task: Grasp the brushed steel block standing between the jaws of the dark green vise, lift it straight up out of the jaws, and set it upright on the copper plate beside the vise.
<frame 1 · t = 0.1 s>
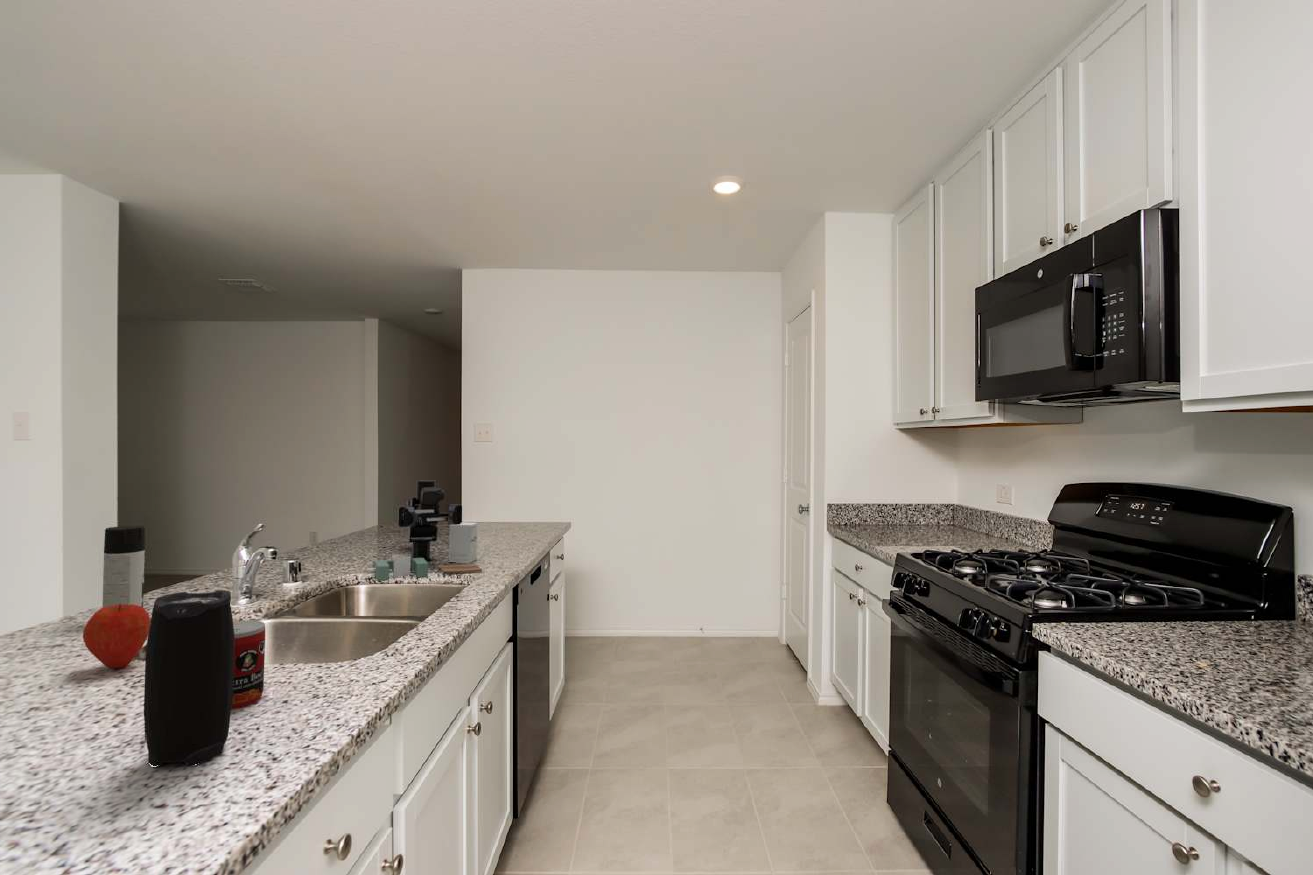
hand: (435, 518, 188), 17 cm above the countertop, tool horizontal, fingers open, 9 cm apart
apple: (116, 669, 106), on the countertop
supplement box: (462, 562, 208), on the countertop
steel block: (401, 565, 184), in the vise
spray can: (122, 622, 133), on the countertop
vise: (400, 575, 184), on the countertop
portable speaker: (188, 756, 77), on the countertop
canned food: (233, 701, 94), on the countertop
copper plate: (459, 570, 193), on the countertop
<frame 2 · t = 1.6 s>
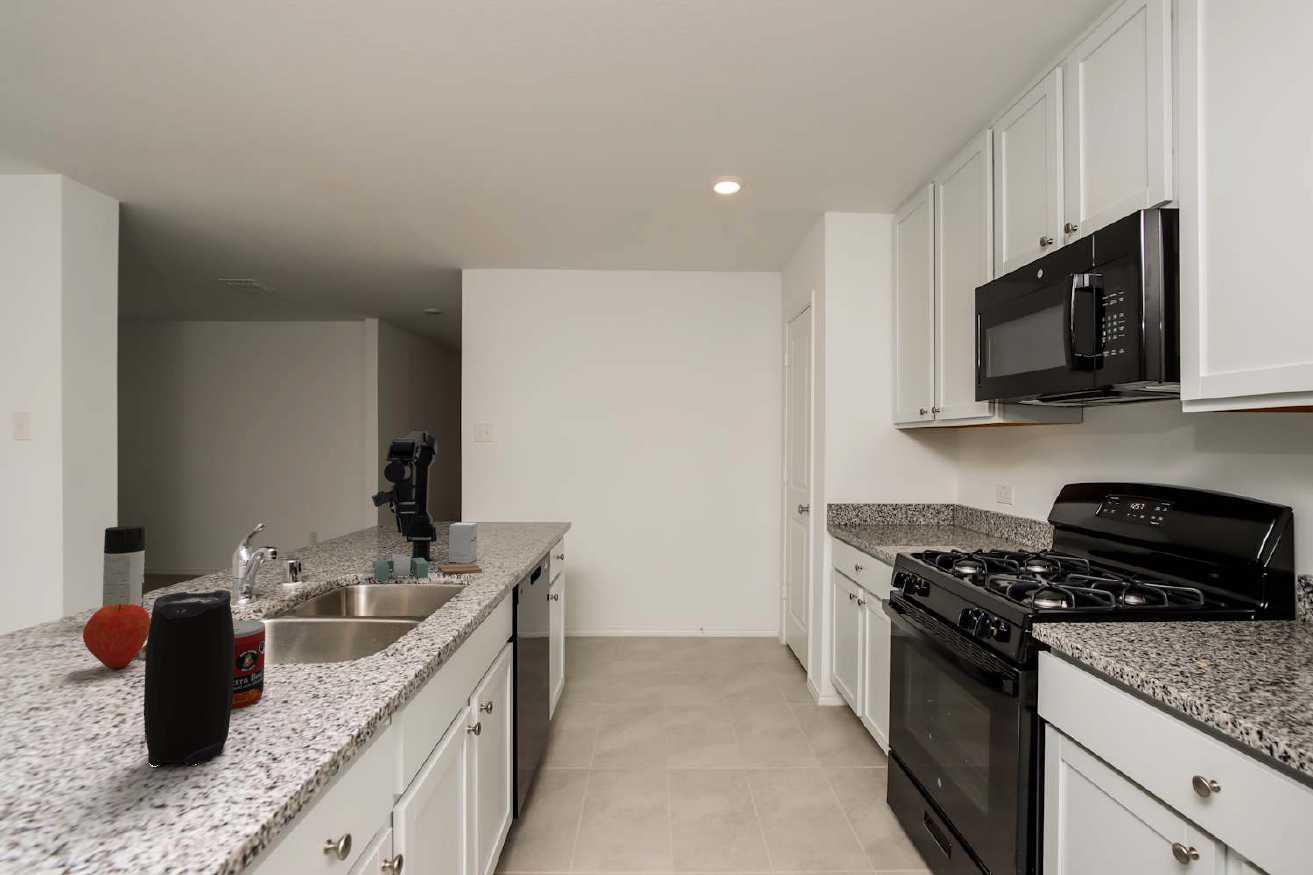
hand: (402, 534, 184), 12 cm above the countertop, tool pointing down, fingers open, 9 cm apart
nothing on the countertop moved.
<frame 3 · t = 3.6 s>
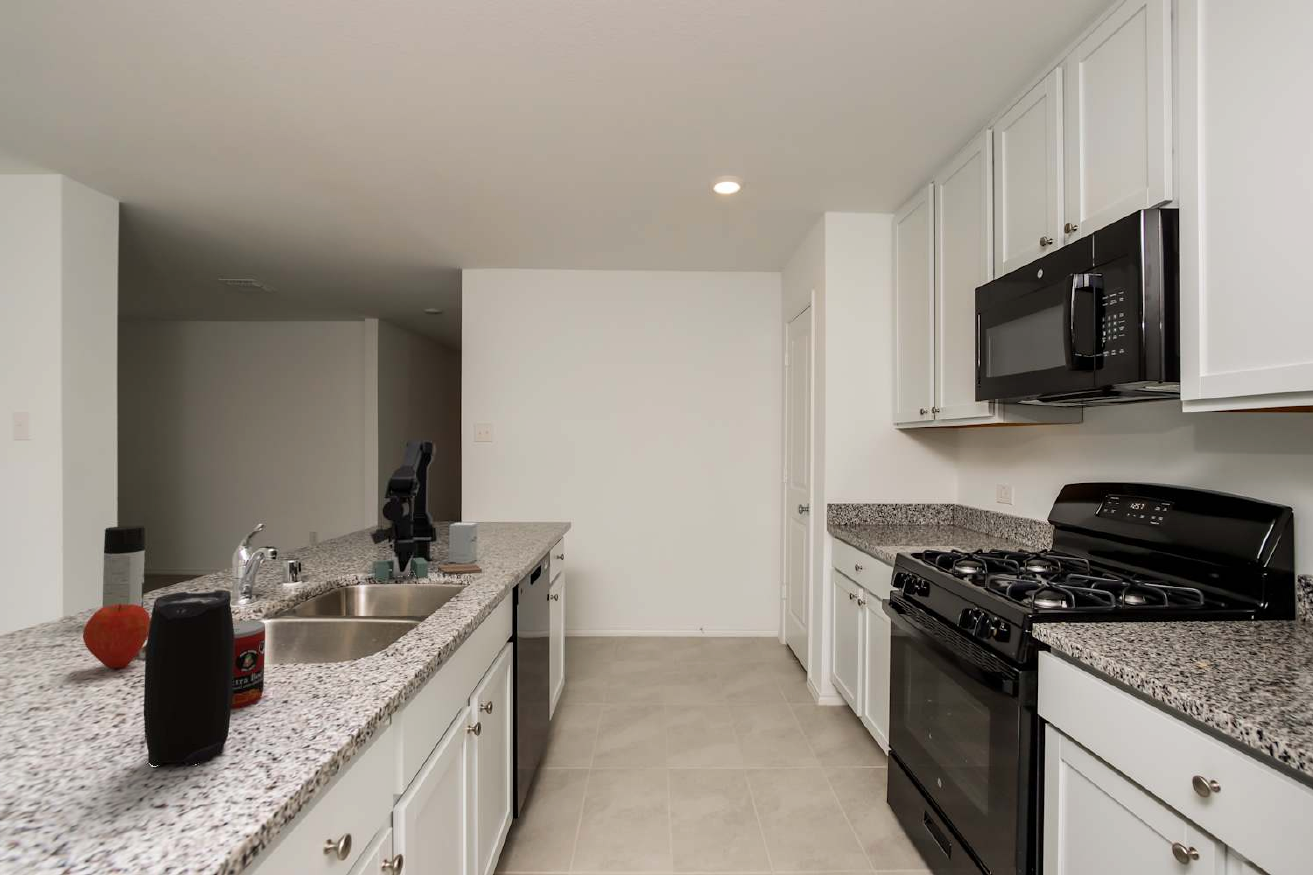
hand: (401, 570, 184), 2 cm above the countertop, tool pointing down, fingers closed on steel block, 4 cm apart
steel block: (401, 565, 184), in the vise, touching gripper
everything else where it was.
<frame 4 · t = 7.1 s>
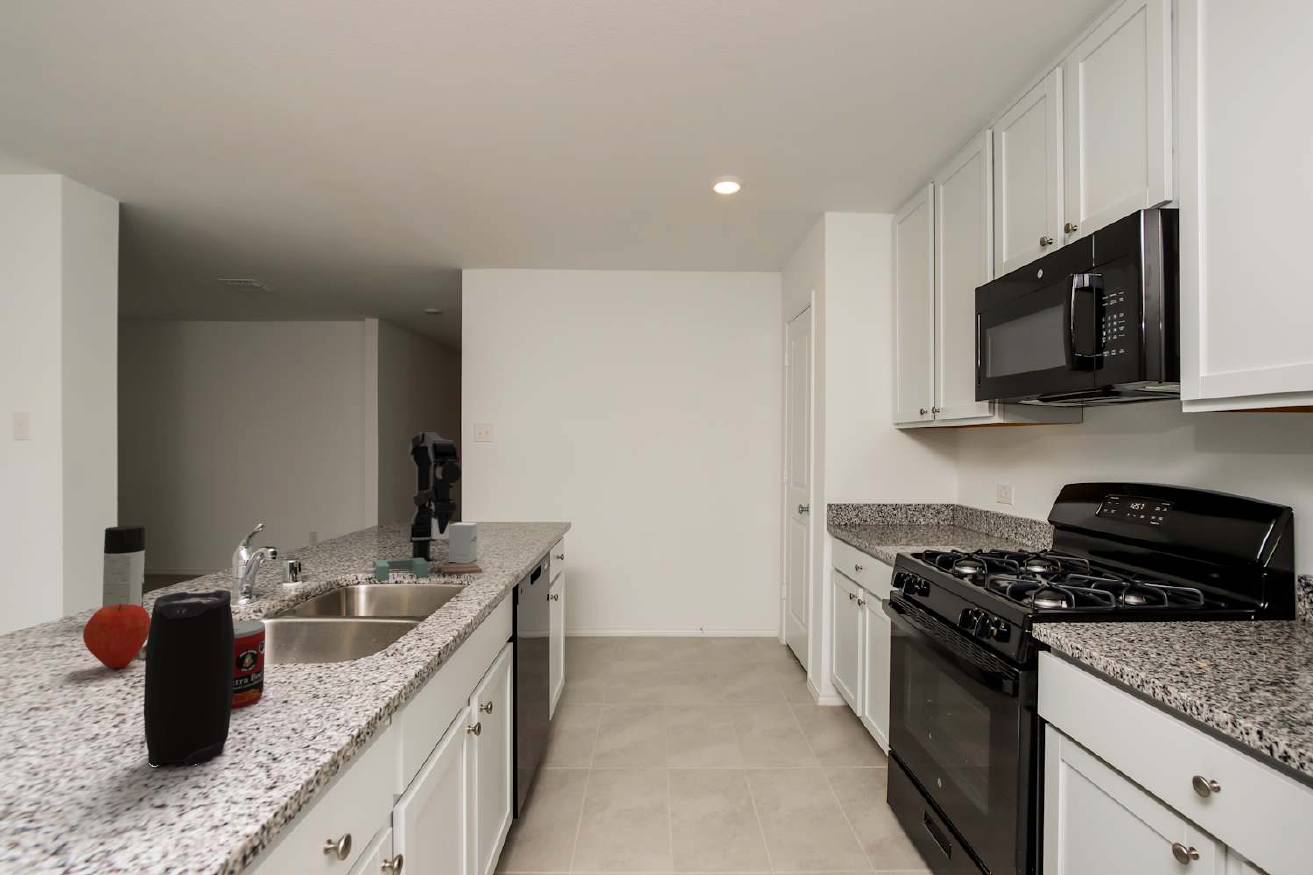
hand: (440, 532, 190), 12 cm above the countertop, tool pointing down, fingers closed on steel block, 4 cm apart
steel block: (440, 527, 190), point 13 cm above the countertop, touching gripper
everything else where it was.
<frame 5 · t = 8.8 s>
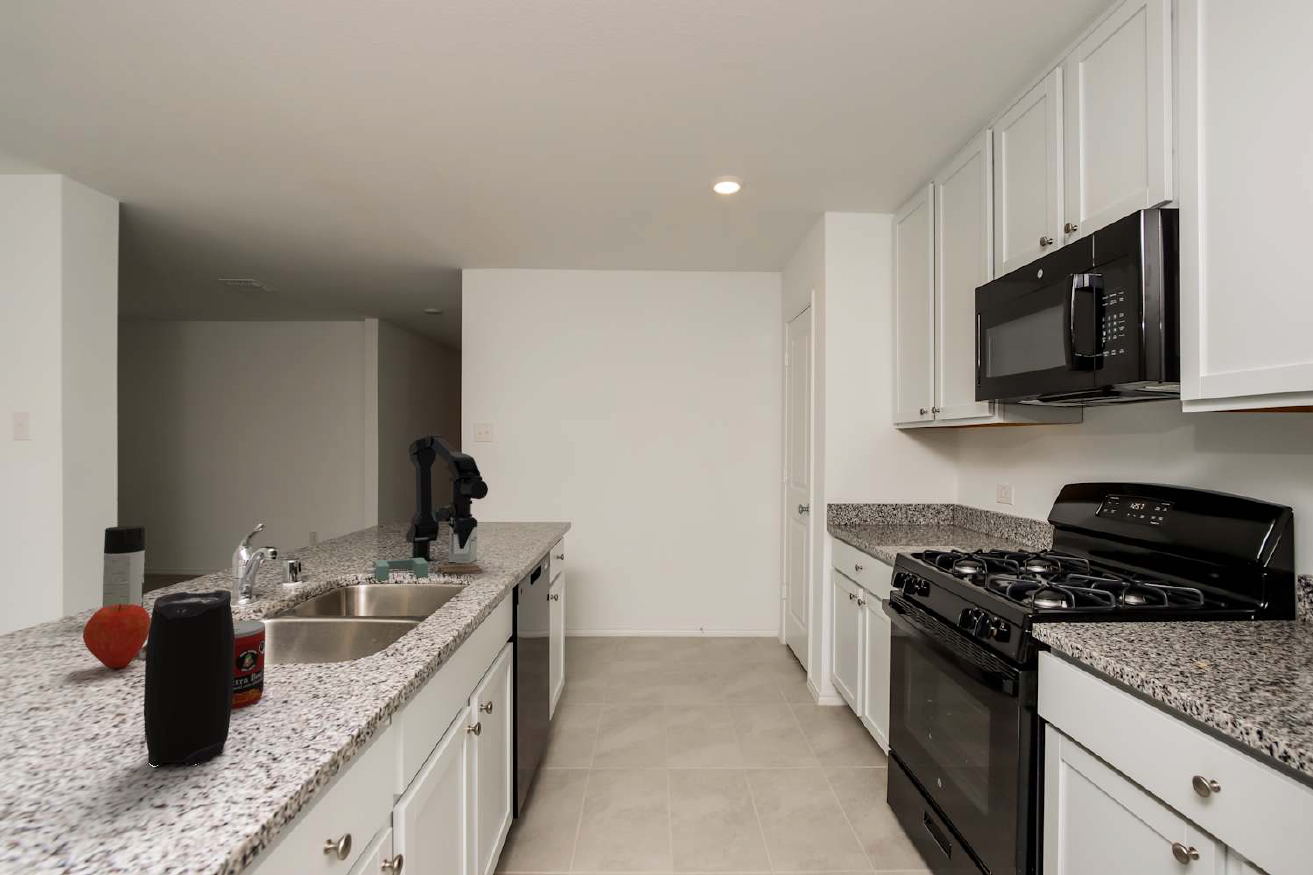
hand: (460, 547, 193), 7 cm above the countertop, tool pointing down, fingers closed on steel block, 4 cm apart
steel block: (460, 542, 193), point 8 cm above the countertop, touching gripper
everything else where it was.
when the fingers open (4 cm above the countertop, at t = 10.3 s): steel block drops 1 cm, resting on copper plate.
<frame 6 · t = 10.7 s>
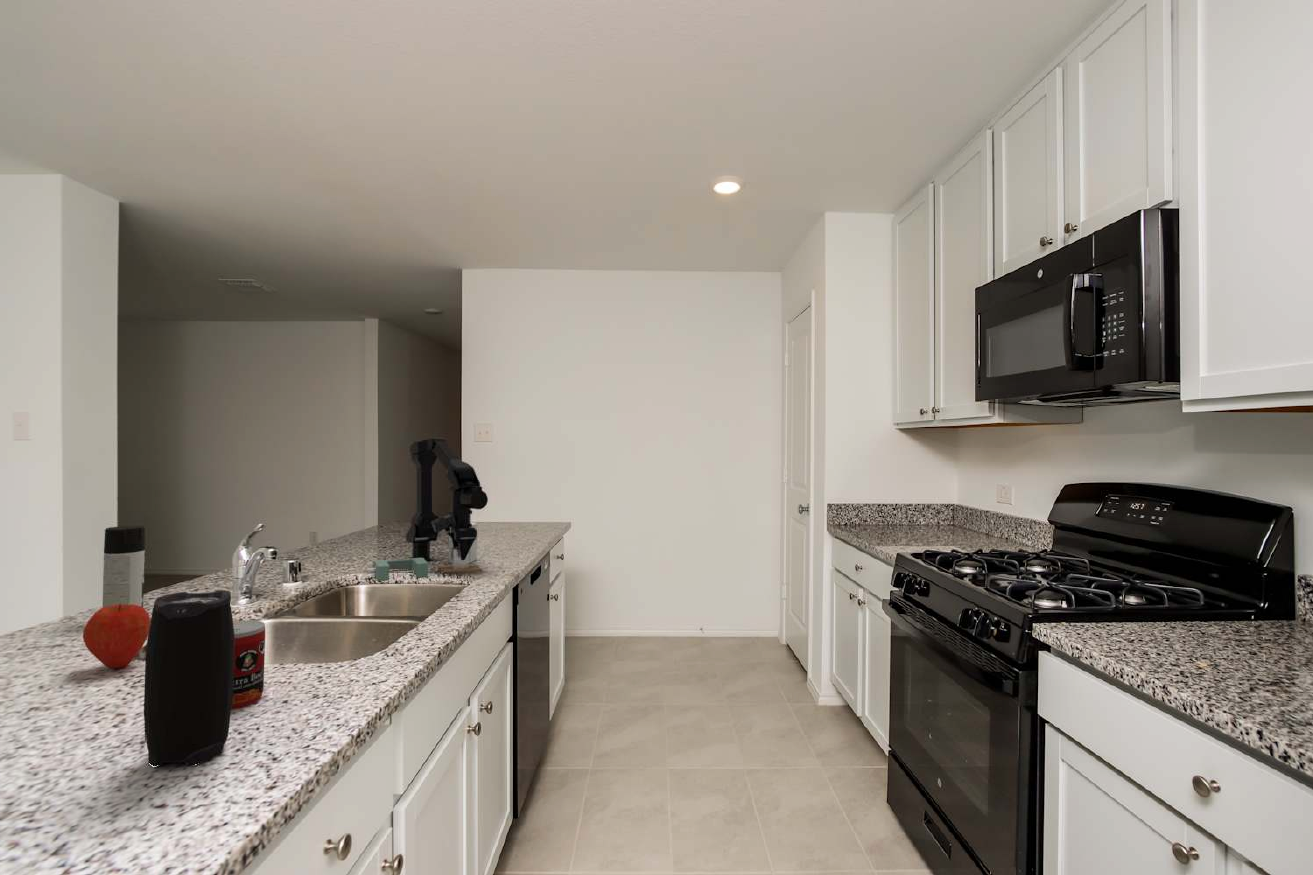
hand: (459, 557, 193), 4 cm above the countertop, tool pointing down, fingers open, 9 cm apart
steel block: (459, 557, 193), on the copper plate, point 4 cm above the countertop
everything else where it was.
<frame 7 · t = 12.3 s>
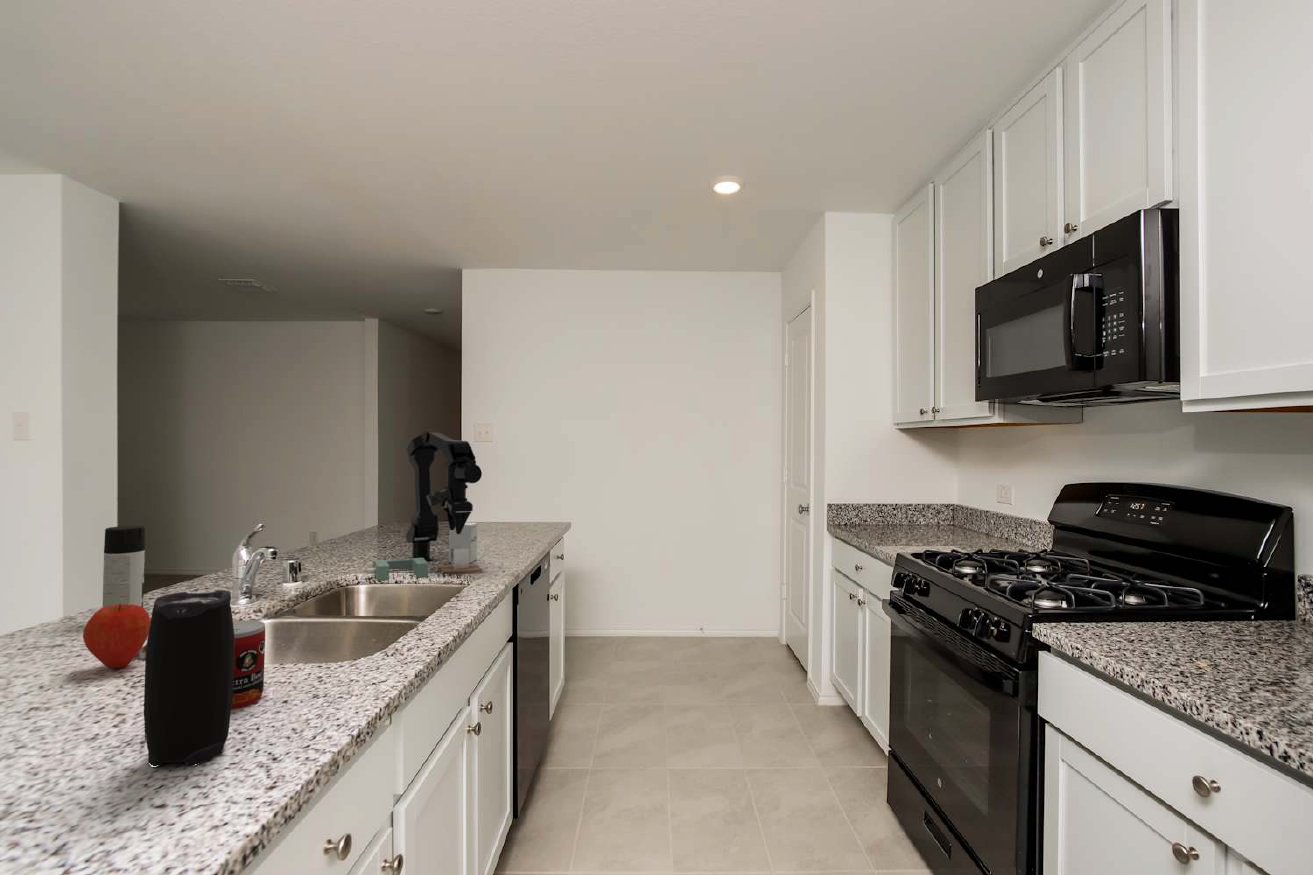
hand: (455, 532, 193), 12 cm above the countertop, tool pointing down, fingers open, 9 cm apart
nothing on the countertop moved.
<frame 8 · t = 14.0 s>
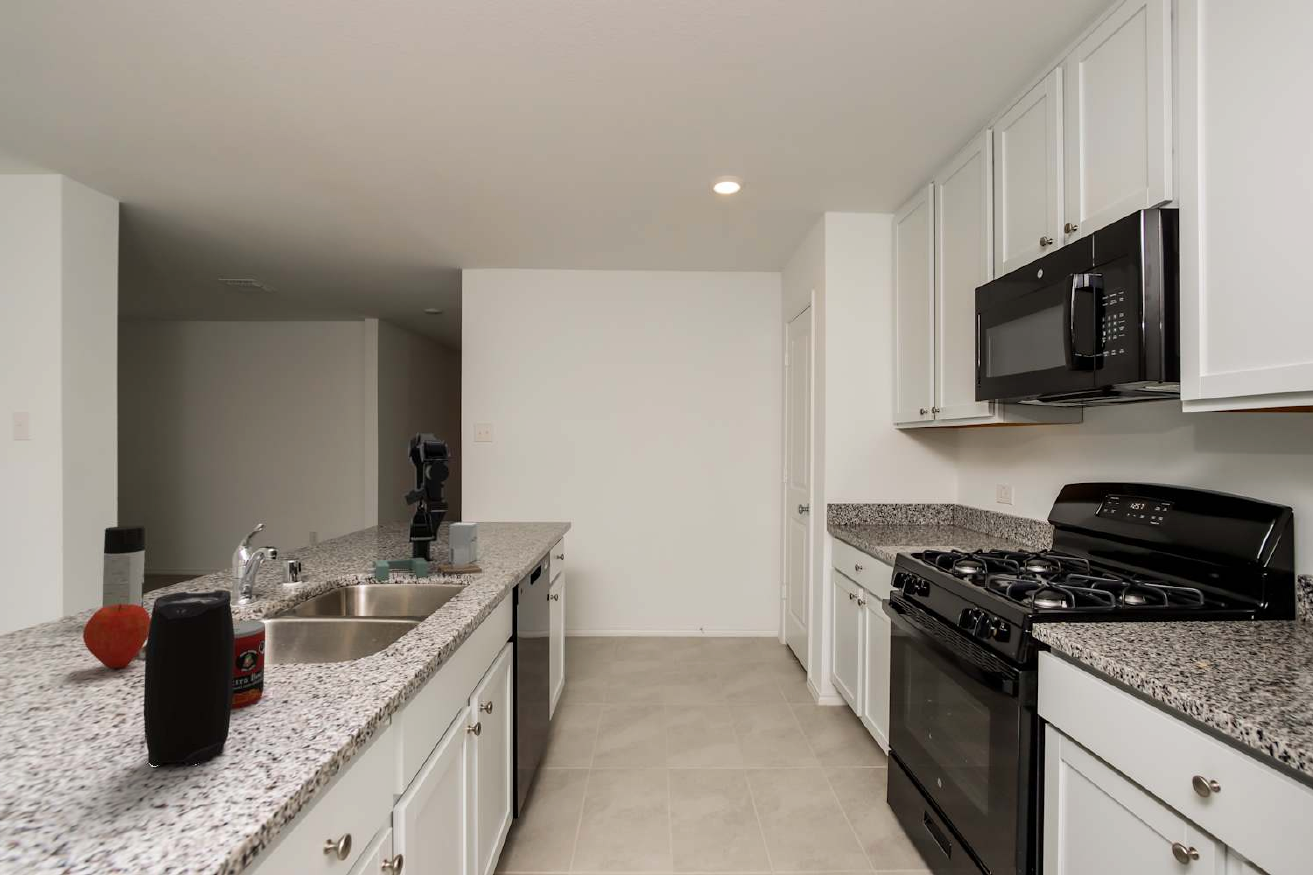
hand: (431, 531, 192), 12 cm above the countertop, tool pointing down, fingers open, 9 cm apart
nothing on the countertop moved.
at the end: steel block inside the target area on the copper plate (0.1 cm from its centre), point 4.0 cm above the copper plate's base; steel block tilted 0°; the gripper is holding nothing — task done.
